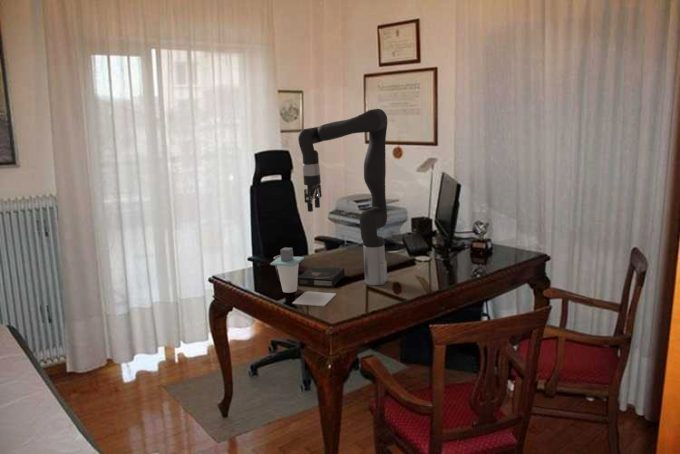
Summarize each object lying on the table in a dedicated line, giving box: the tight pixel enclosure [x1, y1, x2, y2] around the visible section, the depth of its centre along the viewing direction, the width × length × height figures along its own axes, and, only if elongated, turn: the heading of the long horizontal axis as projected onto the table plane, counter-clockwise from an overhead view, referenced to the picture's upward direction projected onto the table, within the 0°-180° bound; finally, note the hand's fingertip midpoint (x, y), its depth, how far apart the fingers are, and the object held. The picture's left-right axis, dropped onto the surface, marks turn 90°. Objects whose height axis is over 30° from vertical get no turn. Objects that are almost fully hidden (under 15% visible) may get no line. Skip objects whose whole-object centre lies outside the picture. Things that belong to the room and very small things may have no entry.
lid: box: [269, 247, 305, 266], centre depth 245 cm, size 11×11×6 cm
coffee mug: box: [273, 254, 281, 280], centre depth 266 cm, size 12×9×10 cm
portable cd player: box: [297, 265, 346, 288], centre depth 259 cm, size 16×17×4 cm
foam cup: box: [277, 262, 300, 294], centre depth 247 cm, size 10×9×13 cm
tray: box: [291, 290, 337, 307], centre depth 236 cm, size 14×14×1 cm
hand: (314, 209), depth 256 cm, fingers open, 8 cm apart
